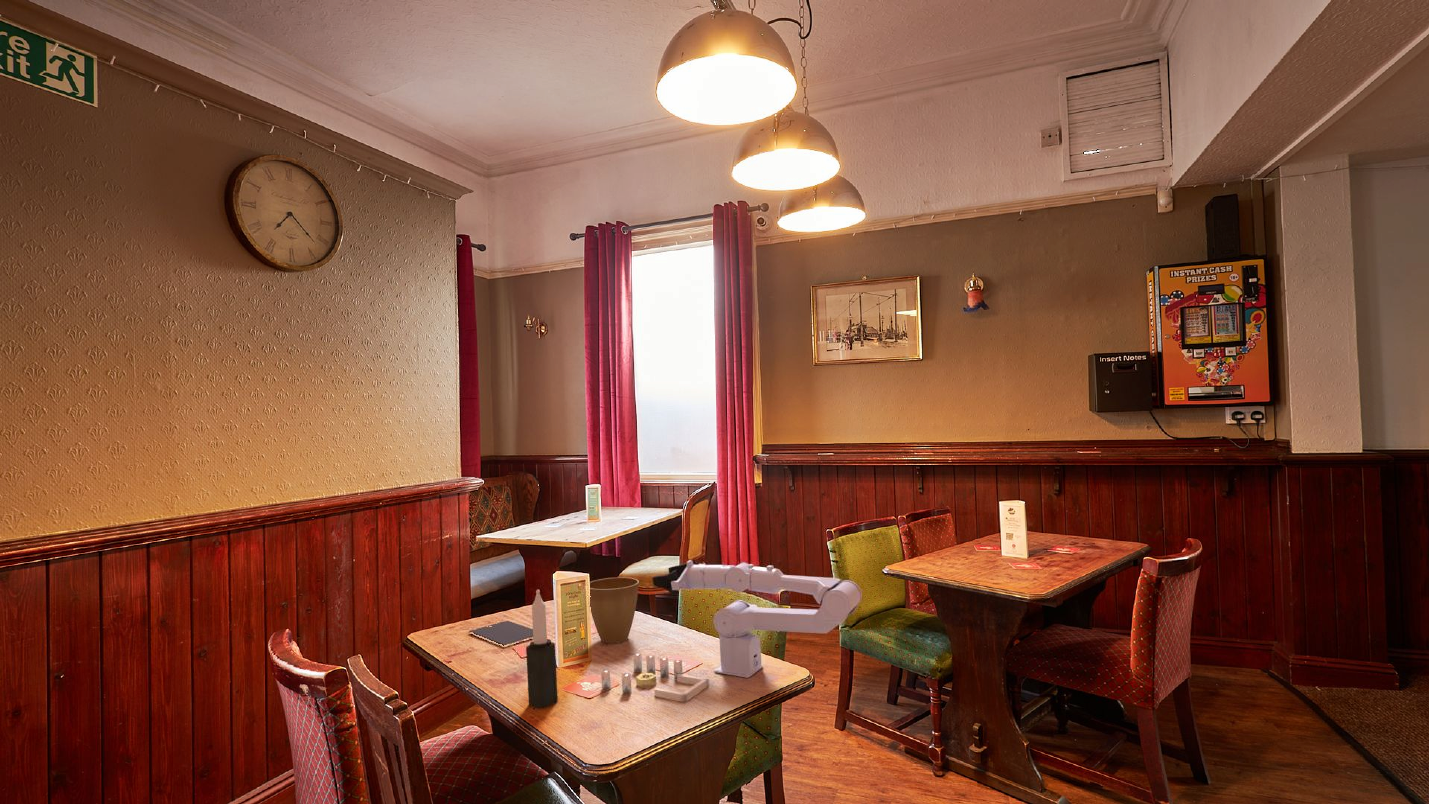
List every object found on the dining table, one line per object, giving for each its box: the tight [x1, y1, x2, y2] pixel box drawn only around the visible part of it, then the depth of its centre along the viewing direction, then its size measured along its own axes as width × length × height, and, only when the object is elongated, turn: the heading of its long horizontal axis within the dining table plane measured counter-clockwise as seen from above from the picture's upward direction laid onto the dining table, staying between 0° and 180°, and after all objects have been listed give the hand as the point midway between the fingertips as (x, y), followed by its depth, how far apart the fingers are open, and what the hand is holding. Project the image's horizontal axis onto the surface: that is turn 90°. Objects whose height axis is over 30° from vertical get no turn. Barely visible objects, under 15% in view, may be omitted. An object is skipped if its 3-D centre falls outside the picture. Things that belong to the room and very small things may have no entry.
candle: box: [525, 589, 559, 710], centre depth 154 cm, size 5×5×25 cm
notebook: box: [468, 620, 533, 646], centre depth 205 cm, size 13×2×21 cm
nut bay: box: [654, 674, 710, 703], centre depth 156 cm, size 8×10×2 cm
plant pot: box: [589, 577, 640, 645], centre depth 196 cm, size 15×15×16 cm
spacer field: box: [600, 652, 684, 696], centre depth 162 cm, size 14×14×4 cm
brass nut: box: [635, 672, 657, 689], centre depth 161 cm, size 4×5×2 cm
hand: (661, 576), depth 177 cm, fingers open, 7 cm apart
